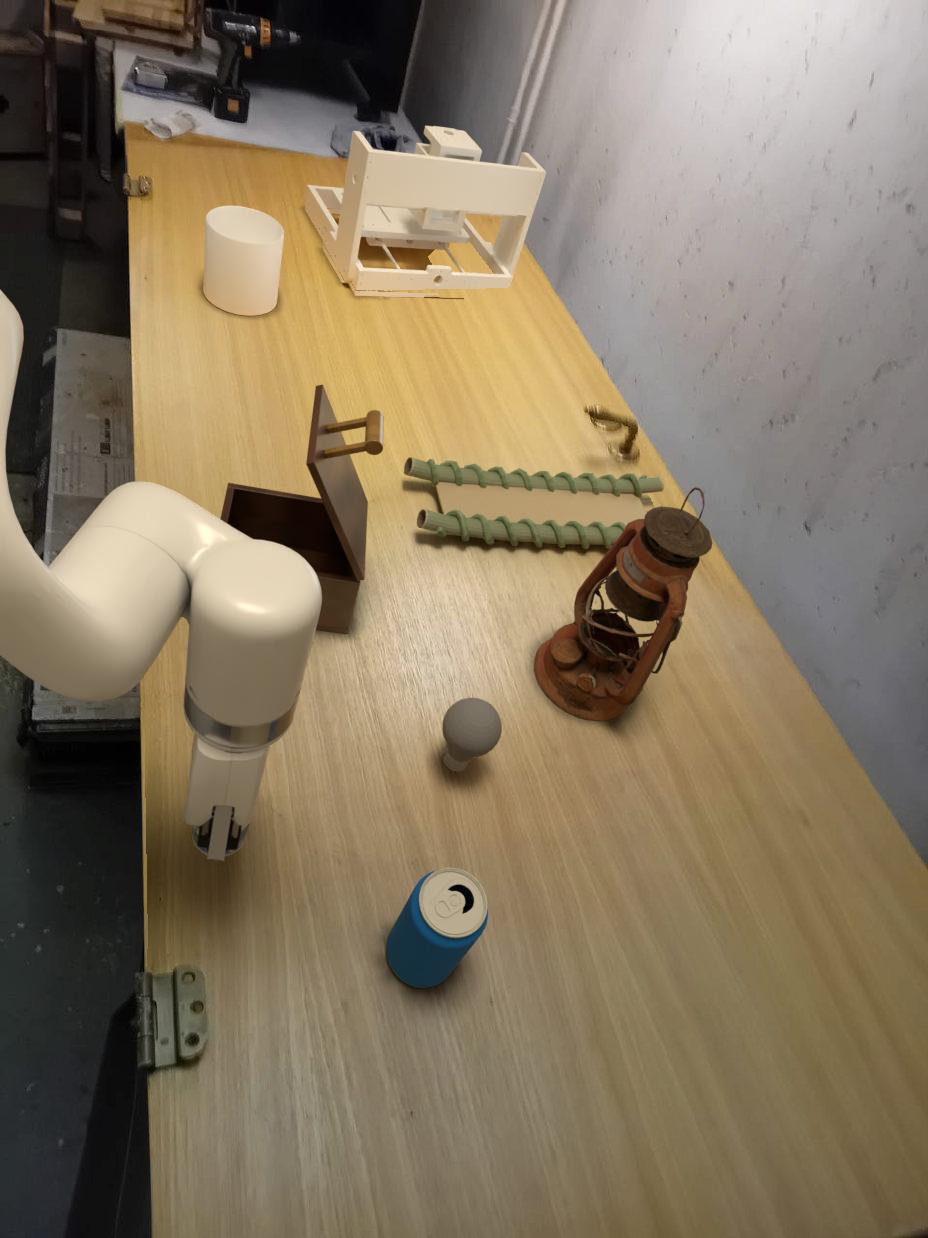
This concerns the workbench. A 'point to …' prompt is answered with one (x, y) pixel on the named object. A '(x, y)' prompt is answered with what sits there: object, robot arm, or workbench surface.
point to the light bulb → (469, 731)
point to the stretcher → (531, 504)
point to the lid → (342, 473)
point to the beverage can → (437, 927)
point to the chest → (299, 542)
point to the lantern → (641, 589)
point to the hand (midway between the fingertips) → (222, 813)
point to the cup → (242, 260)
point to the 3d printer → (425, 212)
